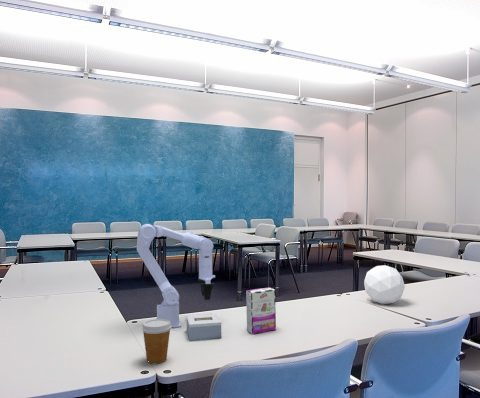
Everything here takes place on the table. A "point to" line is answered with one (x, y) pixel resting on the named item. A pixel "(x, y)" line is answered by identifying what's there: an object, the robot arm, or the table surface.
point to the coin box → (203, 327)
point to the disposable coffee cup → (156, 339)
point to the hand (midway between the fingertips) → (206, 297)
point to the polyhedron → (384, 284)
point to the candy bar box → (260, 310)
